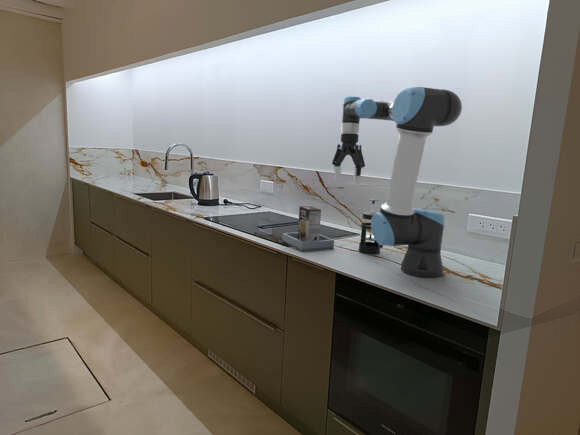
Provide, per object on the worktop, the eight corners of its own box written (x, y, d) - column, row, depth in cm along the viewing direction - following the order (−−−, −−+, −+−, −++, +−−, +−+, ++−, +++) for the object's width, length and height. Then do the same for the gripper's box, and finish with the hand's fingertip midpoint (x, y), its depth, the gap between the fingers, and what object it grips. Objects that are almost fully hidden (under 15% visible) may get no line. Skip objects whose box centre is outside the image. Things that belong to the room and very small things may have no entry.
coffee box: (296, 241, 185) (298, 206, 182) (309, 240, 188) (311, 205, 185) (306, 246, 177) (308, 209, 174) (319, 245, 180) (321, 209, 177)
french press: (352, 250, 179) (356, 198, 174) (366, 247, 185) (370, 197, 181) (374, 256, 170) (379, 201, 166) (387, 253, 176) (392, 200, 172)
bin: (333, 248, 179) (334, 240, 178) (301, 251, 172) (302, 242, 171) (312, 239, 195) (312, 231, 194) (282, 241, 187) (282, 233, 186)
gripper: (375, 133, 170) (371, 184, 173) (339, 134, 191) (336, 179, 194) (361, 132, 166) (358, 184, 169) (326, 133, 187) (323, 179, 190)
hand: (346, 182), depth 182 cm, fingers open, 13 cm apart
